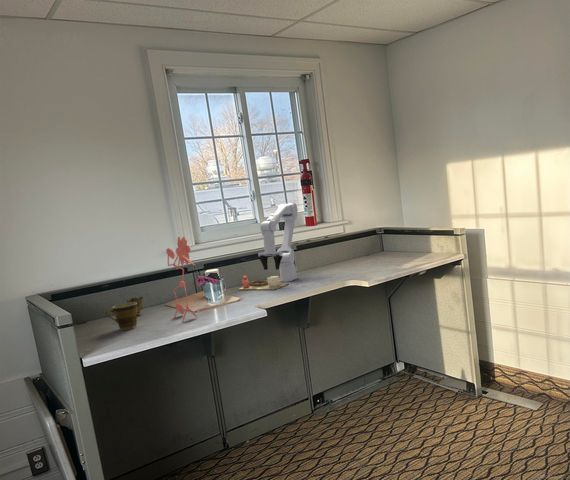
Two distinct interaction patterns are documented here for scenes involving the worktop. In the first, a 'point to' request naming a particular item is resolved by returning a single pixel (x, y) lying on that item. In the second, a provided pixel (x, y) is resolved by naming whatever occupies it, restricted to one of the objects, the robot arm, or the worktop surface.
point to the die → (273, 281)
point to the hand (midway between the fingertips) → (271, 269)
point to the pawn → (245, 282)
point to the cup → (139, 304)
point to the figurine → (183, 256)
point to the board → (262, 286)
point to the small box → (212, 272)
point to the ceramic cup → (125, 315)
